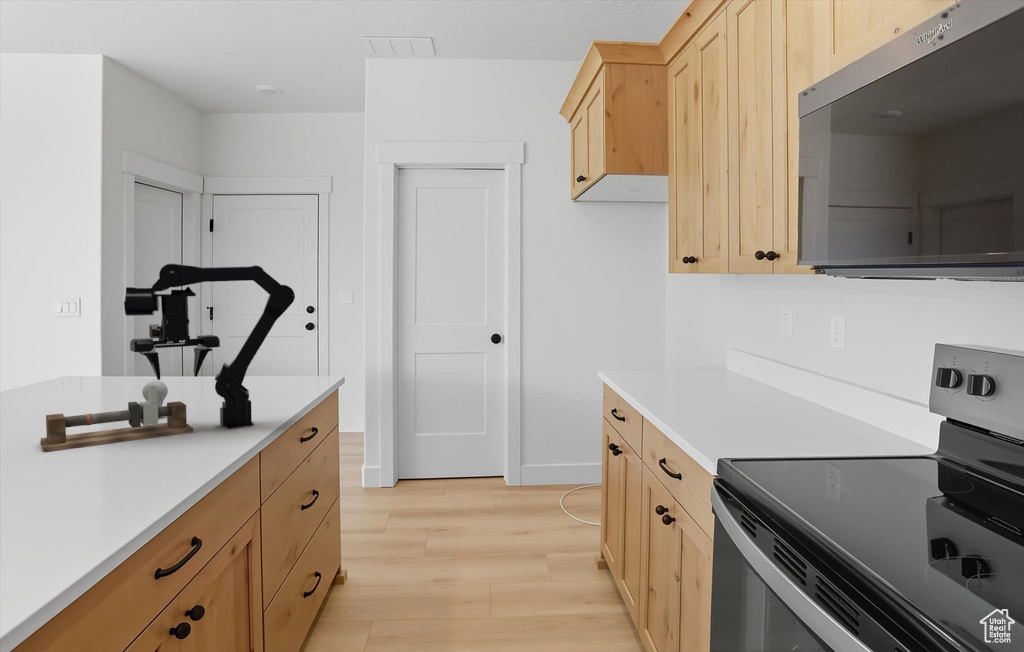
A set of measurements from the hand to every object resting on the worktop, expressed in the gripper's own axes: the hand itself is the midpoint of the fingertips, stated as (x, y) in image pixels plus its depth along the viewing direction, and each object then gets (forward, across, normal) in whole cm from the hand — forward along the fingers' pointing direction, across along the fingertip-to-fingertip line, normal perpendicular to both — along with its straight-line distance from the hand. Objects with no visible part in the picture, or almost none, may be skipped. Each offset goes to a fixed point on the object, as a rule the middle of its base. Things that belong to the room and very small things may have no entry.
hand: (177, 378), depth 150 cm
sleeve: (+10, +6, 0) cm, 12 cm away
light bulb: (+13, +1, -19) cm, 23 cm away
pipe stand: (+13, +12, 0) cm, 18 cm away
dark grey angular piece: (+10, +9, 0) cm, 14 cm away
